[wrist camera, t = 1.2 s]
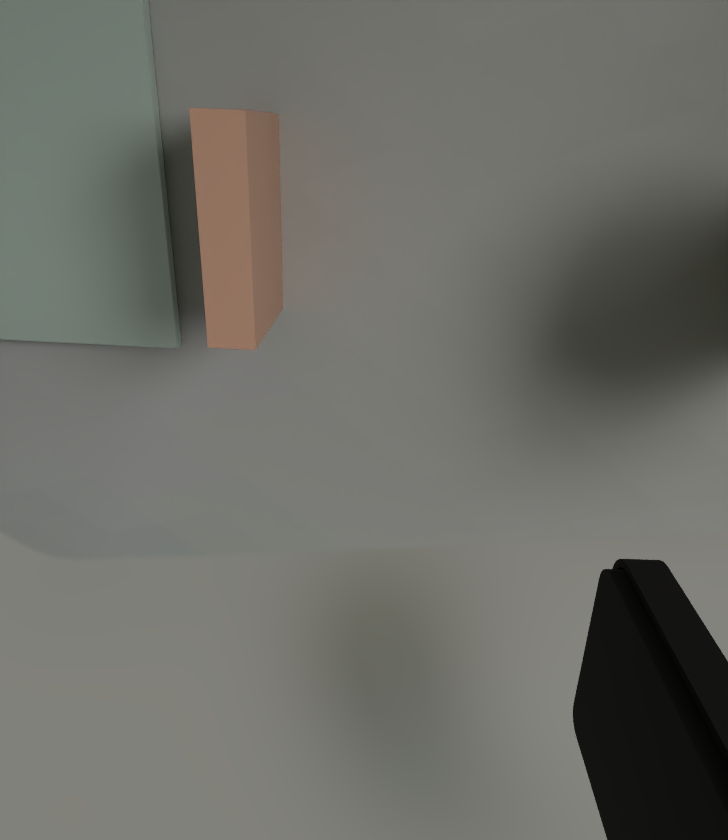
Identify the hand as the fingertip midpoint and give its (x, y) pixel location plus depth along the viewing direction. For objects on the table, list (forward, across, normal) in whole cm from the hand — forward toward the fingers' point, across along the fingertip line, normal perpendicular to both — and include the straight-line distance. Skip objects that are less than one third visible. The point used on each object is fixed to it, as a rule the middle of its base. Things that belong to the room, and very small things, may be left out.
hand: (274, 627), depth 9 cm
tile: (+21, +4, -3) cm, 21 cm away
